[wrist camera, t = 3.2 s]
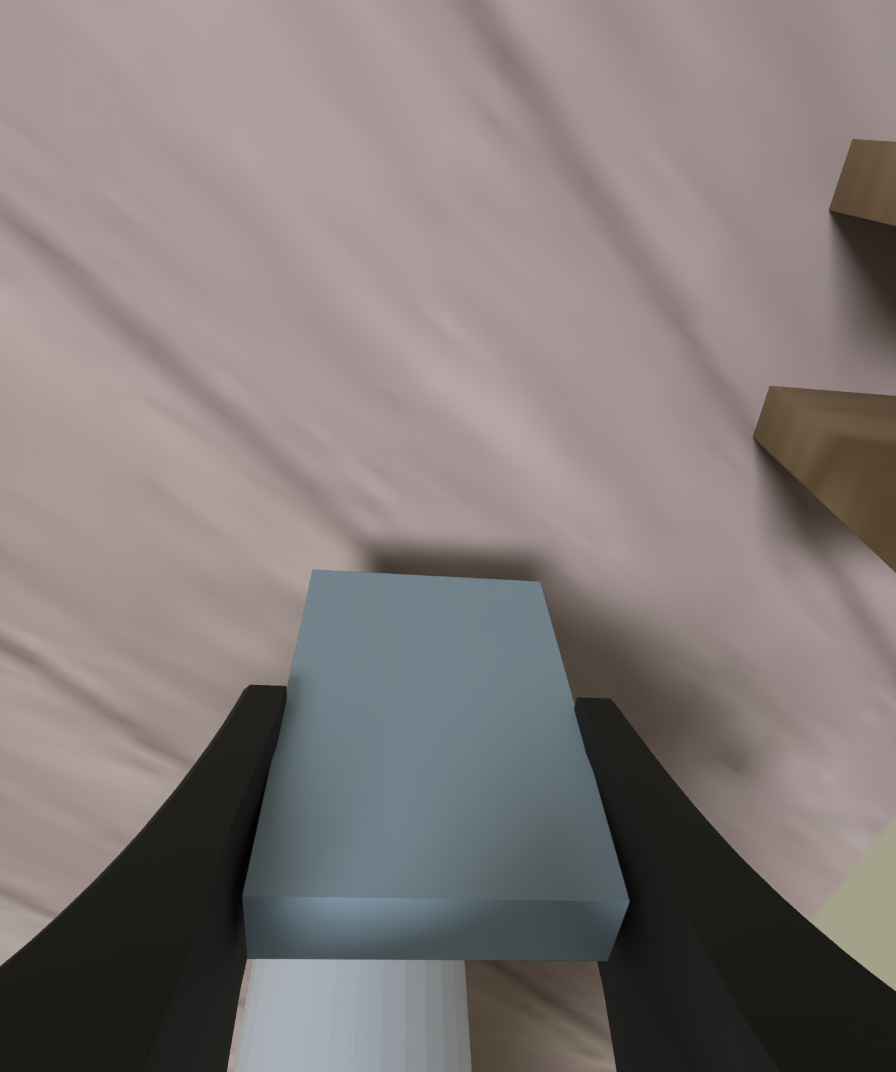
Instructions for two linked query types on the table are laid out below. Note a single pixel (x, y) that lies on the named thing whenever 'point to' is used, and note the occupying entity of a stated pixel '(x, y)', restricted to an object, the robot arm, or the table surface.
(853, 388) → the table surface
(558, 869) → the domino
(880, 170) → the domino
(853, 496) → the domino
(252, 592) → the table surface
